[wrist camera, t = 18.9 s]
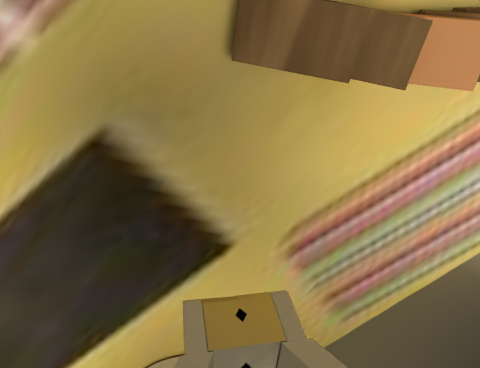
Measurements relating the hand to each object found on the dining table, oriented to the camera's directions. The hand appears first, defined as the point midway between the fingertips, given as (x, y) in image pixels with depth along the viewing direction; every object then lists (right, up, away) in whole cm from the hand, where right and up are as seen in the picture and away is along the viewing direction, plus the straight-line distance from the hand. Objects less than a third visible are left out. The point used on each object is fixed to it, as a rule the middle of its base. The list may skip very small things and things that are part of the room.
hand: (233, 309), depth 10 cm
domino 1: (0, +16, +16) cm, 23 cm away
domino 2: (+5, +16, +18) cm, 24 cm away
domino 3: (+11, +15, +19) cm, 27 cm away
